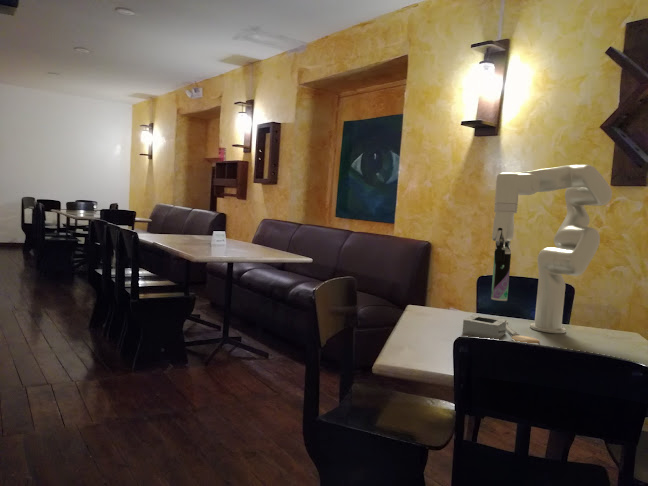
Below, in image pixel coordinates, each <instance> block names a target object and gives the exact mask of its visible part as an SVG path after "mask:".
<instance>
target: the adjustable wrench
mask: <svg viewBox="0 0 648 486" xmlns="http://www.w3.org/2000/svg"><path fill="white" fill-rule="evenodd" d="M501 319H502V320H505V319H503V318H501ZM506 331H507V332H508V333H507V332H506V333H507V334H509V333H510V334H511V335H512V336H521V335H520V333H519V332H518V331H516V330H515V329H513V328H512V327H511V326H510V325H509V320H507V321H506ZM510 334H509V335H510ZM511 335H510V336H511ZM512 336H511V337H512Z"/></svg>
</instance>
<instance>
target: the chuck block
mask: <svg viewBox="0 0 648 486" xmlns="http://www.w3.org/2000/svg"><path fill="white" fill-rule="evenodd" d="M502 319H503V318H495V317H491V316H484V315H480V314H479V315H477V314H472V315H470V316H468V317H466V318H464V319H463V324H462V333H464V334H463V335H467V334H468V335H467V336H472V335H476V336H475V337H479V338H483V337H485V338H484V339H488V338H494V339H498V338H499V337H500V338H502V337H503V336H504V335H506V333H507V332H506V321H508V320H506V319H504V320H502ZM502 335H503V336H502ZM501 336H502V337H501ZM500 338H499V339H500ZM494 339H493V340H494ZM499 339H498V340H499Z"/></svg>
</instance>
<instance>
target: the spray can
mask: <svg viewBox="0 0 648 486" xmlns="http://www.w3.org/2000/svg"><path fill="white" fill-rule="evenodd" d="M502 244H503V243H502ZM504 250H505V259H504V261H503V262H502V261H495V251H494V252H493V253H494V255H493V267H492V268H493V269H492V279H491V280H492V283H491V290H490V291H491V293H490V300H493V301H498V302H507V301H508V297H509V287H510V286H509V284H510V283H509V282H510V272H511V271H510V270H511V260H512V258H511V257H512V250H511V249H510V250H509V249H508V248H507V246H506V243H505V247H504Z"/></svg>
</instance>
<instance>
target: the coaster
mask: <svg viewBox="0 0 648 486" xmlns="http://www.w3.org/2000/svg"><path fill="white" fill-rule="evenodd" d="M511 338H512V339H514V340H515V341H520V342H527V343H539V344H540V343H541V341H540V340H539V339H538V338H535V337H532V336H527V335H520V336H511Z"/></svg>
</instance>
